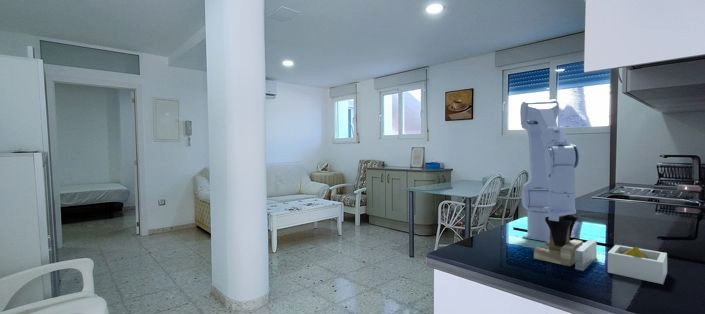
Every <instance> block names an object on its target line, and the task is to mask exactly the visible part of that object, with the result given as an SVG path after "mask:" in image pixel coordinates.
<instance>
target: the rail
mask: <svg viewBox="0 0 705 314" xmlns="http://www.w3.org/2000/svg"><path fill="white" fill-rule="evenodd" d="M597 252H598V251H597V240H595V239H588V240H586V241H585V242H583V245H581V246H580V247H579V248H577V249H576V250H575V263H574V265H575V266H574V270H576V271H580V272H581V271H582V272H584V271H585V270H586V269H587V268H588V267H589V266H590V265H591V264H592V263H593V262H594V261H595V260H596V259H598V258H597V254H598V253H597Z"/></svg>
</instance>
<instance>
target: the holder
mask: <svg viewBox="0 0 705 314" xmlns="http://www.w3.org/2000/svg"><path fill="white" fill-rule="evenodd" d="M632 248H634V247H632V246H626V245H621V244H619V245H618V244H615V245H613V246H612V248H611V249H610V250H609V251H608V252H607V273H609V274H614V275H619V276H623V277H628V278H632V279H637V280H642V281H647V282H652V283H656V284H659V285H660V284H661V285H664V283H665V279H666V278H667V275H668V253H667V252H661V251H656V250H650V249H645V248H640V247H638V249H639V250H640V251H641V252H642V253H643V254H645V255H646V256H647V257H648V258H649V259H646V258H641V257H635V256H630V255H624V254H620V253H621V252H623V251H625V250H630V249H632Z"/></svg>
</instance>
